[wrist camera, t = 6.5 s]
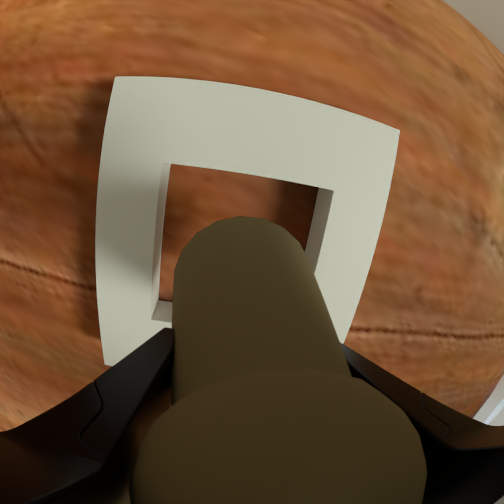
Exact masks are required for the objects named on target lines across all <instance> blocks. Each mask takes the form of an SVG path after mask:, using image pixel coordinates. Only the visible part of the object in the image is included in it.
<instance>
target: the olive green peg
mask: <svg viewBox="0 0 504 504" xmlns="http://www.w3.org/2000/svg"><path fill="white" fill-rule="evenodd" d="M172 328H173V329H174V332H175V345H174V352H173V359H172V366H171V407H170V408H169V409H168V410H167V411H166V412H164V413H163V414H162V415H161V416H159V417H158V418H157V419H156V420H155V421H154V422H153V424H152V426H151V427H150V429H149V431H148V432H147V434H146V436H145V437H144V439H143V441H142V443H141V444H140V447H139V450H138V453H137V456H136V459H135V462H134V466H133V470H132V475H131V480H130V485H129V497H130V504H421V503H422V502H423V496H424V491H425V485H426V478H427V468H426V461H425V456H424V452H423V448H422V444H421V440H420V436H419V433H418V432H417V430H416V429H415V427H414V426H413V424H412V423H411V421H410V420H409V418H408V417H407V415H406V414H405V412H404V411H403V410H402V409H401V408H400V407H398V406H397V405H396V404H395V403H393V402H392V401H391V400H390V399H388V398H387V397H386V396H385V395H384V394H382V393H381V392H379V391H378V390H376V389H375V388H374V387H372V386H371V385H369V384H368V383H366V382H365V381H363V380H362V379H359V378H354V377H352V376H351V373H350V370H349V367H348V364H347V361H346V358H345V355H344V353H343V350H342V347H341V344H340V341H339V339H338V336H337V333H336V330H335V328H334V325H333V322H332V319H331V317H330V314H329V311H328V309H327V306H326V303H325V301H324V298H323V296H322V293H321V290H320V288H319V285H318V283H317V280H316V278H315V275H314V273H313V270H312V268H311V265H310V263H309V260H308V258H307V256H306V254H305V252H304V250H303V249H302V247H301V245H300V243H299V242H298V241H297V240H296V239H295V238H294V237H293V236H292V235H291V234H290V233H289V232H288V231H287V230H286V229H284V228H283V227H281V226H279V225H277V224H274V223H272V222H270V221H267V220H265V219H263V218H253V217H242V216H238V217H234V218H229V219H225V220H220V221H216V222H214V223H213V224H211V225H209V226H208V227H206V228H204V229H203V230H201V231H199V232H198V233H196V234H195V235H194V237H193V238H192V239H191V240H190V241H189V243H188V244H187V245H186V246H185V247H184V249H183V250H182V252H181V254H180V257H179V259H178V262H177V265H176V267H175V271H174V286H173V304H172Z"/></svg>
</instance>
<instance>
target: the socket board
mask: <svg viewBox="0 0 504 504" xmlns="http://www.w3.org/2000/svg"><path fill="white" fill-rule="evenodd" d="M399 133H400V130H398V129H395V128H393V127H390V126H388V125H385V124H382V123H380V122H377V121H374V120H372V119H369V118H366V117H363V116H360V115H357V114H354V113H351V112H348V111H345V110H342V109H339V108H335V107H332V106H329V105H325V104H322V103H318V102H315V101H311V100H307V99H303V98H299V97H295V96H291V95H286V94H282V93H277V92H273V91H268V90H263V89H258V88H252V87H246V86H240V85H234V84H227V83H220V82H212V81H203V80H194V79H182V78H167V77H140V76H120V77H115V80H114V84H113V89H112V93H111V98H110V103H109V108H108V113H107V118H106V124H105V130H104V137H103V144H102V151H101V159H100V168H99V178H98V190H97V205H96V233H95V259H96V287H97V303H98V315H99V325H100V334H101V342H102V349H103V356H104V363H105V365H110V366H114V365H115V364H116V363H118V362H119V361H120V360H122V359H123V358H124V357H126V356H127V355H128V354H130V353H131V352H132V351H134V350H135V349H136V348H138V347H139V346H140V345H142V344H143V343H144V342H146V341H147V340H148V339H150V338H151V337H152V336H154V335H155V334H156V333H158V332H159V331H160V330H162V329H163V328H165V327H167V328H172V304H173V302H167V301H160V300H159V280H160V262H161V248H162V236H163V225H164V215H165V206H166V197H167V189H168V181H169V173H170V166H171V164H179V165H188V166H196V167H203V168H211V169H218V170H225V171H232V172H238V173H244V174H251V175H257V176H262V177H268V178H274V179H279V180H285V181H290V182H295V183H300V184H305V185H310V186H315V187H319V189H318V194H317V199H316V203H315V208H314V213H313V217H312V222H311V227H310V231H309V236H308V240H307V244H306V249H305V254H306V256H307V258H308V260H309V263H310V265H311V268H312V270H313V273H314V275H315V278H316V280H317V283H318V285H319V288H320V290H321V293H322V296H323V298H324V301H325V303H326V306H327V309H328V311H329V314H330V317H331V319H332V322H333V325H334V328H335V330H336V333H337V336H338V339H339V341H340V342H341V343H342V344H344V341H345V338H346V336H347V333H348V330H349V328H350V325H351V322H352V320H353V317H354V314H355V311H356V308H357V305H358V302H359V300H360V297H361V294H362V290H363V287H364V284H365V281H366V278H367V275H368V271H369V268H370V265H371V261H372V258H373V254H374V251H375V247H376V244H377V240H378V236H379V232H380V228H381V224H382V220H383V216H384V212H385V208H386V203H387V199H388V194H389V190H390V185H391V180H392V175H393V170H394V164H395V158H396V153H397V146H398V140H399Z"/></svg>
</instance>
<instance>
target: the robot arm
mask: <svg viewBox="0 0 504 504" xmlns="http://www.w3.org/2000/svg"><path fill="white" fill-rule="evenodd" d="M340 344H341V347H342V350H343V353H344V355H345V358H346V361H347V364H348V367H349V370H350V373H351V376H352V377H354V378H359V379H362V380H363V381H365V382H366V383H368V384H369V385H371V386H372V387H374V388H375V389H376V390H378V391H379V392H381V393H382V394H384V395H385V396H386V397H387V398H388V399H390V400H391V401H392V402H393V403H395V404H396V405H397V406H398V407H400V408H401V409H402V410H403V411H404V412H405V414H406V415H407V417H408V418H409V420H410V421H411V423H412V424H413V426H414V427H415V429H416V430H417V432H418V433H419V436H420V440H421V444H422V448H423V452H424V456H425V461H426V468H427V478H426V485H425V491H424V496H423V502H422V503H421V504H504V426H490V425H486V424H484V423H481V422H479V421H477V420H475V419H473V418H470V417H468V416H466V415H464V414H462V413H460V412H458V411H456V410H454V409H452V408H450V407H448V406H446V405H444V404H442V403H440V402H438V401H436V400H435V399H433V398H431V397H429V396H428V395H426V394H424V393H421V392H420V391H419V390H417V389H416V388H414V387H412V386H411V385H409V384H407V383H406V382H404V381H402V380H401V379H399V378H397V377H396V376H394V375H392V374H391V373H389V372H387V371H386V370H384V369H383V368H381V367H379V366H378V365H376V364H374V363H373V362H371V361H370V360H368V359H366V358H365V357H363V356H361V355H360V354H358V353H357V352H355V351H353V350H352V349H350V348H349V347H347V346H345V345H344V344H342V343H341V342H340ZM174 345H175V332H174V329H173V328H167V327H165V328H163V329H162V330H160V331H159V332H158V333H156V334H155V335H154V336H152V337H151V338H150V339H148V340H147V341H146V342H144V343H143V344H142V345H140V346H139V347H138V348H136V349H135V350H134V351H132V352H131V353H130V354H128V355H127V356H126V357H124V358H123V359H122V360H120V361H119V362H118V363H116V364H115V365H114V366H112V367H111V368H110V369H108V370H107V371H106V372H104V373H103V374H102V375H100V376H99V377H98V378H96V379H95V380H94V382H91V383H89V384H88V385H87V386H85V387H84V388H83V389H81V390H80V391H78V392H77V393H76V394H74V395H73V396H71V397H70V398H68V399H67V400H65V401H63V402H61V403H60V404H58V405H56V406H55V407H53V408H51V409H49V410H48V411H46V412H44V413H42V414H40V415H38V416H37V417H35V418H33V419H31V420H29V421H27V422H25V423H24V424H22V425H20V426H18V427H16V428H13V429H10V430H7V431H2V432H0V504H130V497H129V485H130V480H131V475H132V470H133V466H134V462H135V459H136V456H137V453H138V450H139V447H140V444H141V443H142V441H143V439H144V437H145V436H146V434H147V432H148V431H149V429H150V427H151V426H152V424H153V422H154V421H155V420H156V419H157V418H158V417H159V416H161V415H162V414H163V413H164V412H166V411H167V410H168V409H169V408H170V404H171V366H172V359H173V352H174Z"/></svg>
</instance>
